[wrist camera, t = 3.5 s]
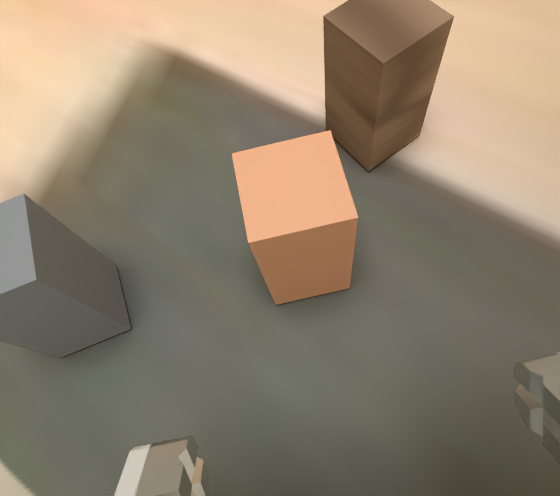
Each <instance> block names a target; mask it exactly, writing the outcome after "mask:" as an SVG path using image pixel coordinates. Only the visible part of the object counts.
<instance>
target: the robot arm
mask: <svg viewBox="0 0 560 496" xmlns="http://www.w3.org/2000/svg"><path fill="white" fill-rule="evenodd" d="M514 377H515V378H516V379H517V380H518V381H519V382H520V384H519V385H518V387H517V388H516V390H515V402H516V405H517V408H518V411H519V414H520V415H521V417H522V419H523V421H524V422H525V424H526V425H527V426H528V427H529V429H530V430H531V431H533V432H536V433H538V434H540V435H542V436H543V446H544V447H545V448H546V449H547V450H548V452H549V453H550V454H551V455H552V456H553V458H554V459H555V460H556V461H557V462H558V464H559V465H560V352H559V353H556V354H552V355H547V356H543V357H539V358H534V359H530V360H526V361H522V362H517V363H516V364H515V367H514ZM197 451H198V446H197V443H196V441H195V439H194V437H192V436H187V437H182V438H177V439H172V440H167V441H162V442H157V443H153V444H149V445H144V446H139V447H134V448H133V449H132V450H131V451H130V452H129V454H128V457H127V460H126V463H125V466H124V469H123V472H122V475H121V477H120V480H119V483H118V486H117V489H116V492H115V495H114V496H208V495H209V484H208V475H207V470H206V466H205V464H204V461H203V460H202V459H200V458H199V457H197Z"/></svg>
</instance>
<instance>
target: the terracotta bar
mask: <svg viewBox="0 0 560 496" xmlns="http://www.w3.org/2000/svg"><path fill="white" fill-rule="evenodd" d="M232 157H233V163H234V168H235V174H236V179H237V184H238V190H239V195H240V200H241V206H242V211H243V217H244V222H245V227H246V233H247V238H248V243H249V245H250V248H251V250H252V252H253V254H254V257H255V259H256V261H257V264H258V266H259V268H260V270H261V273H262V275H263V277H264V279H265V282H266V284H267V286H268V289H269V291H270V293H271V295H272V298H273V300H274V302H275V304H276V305H278V304H282V303H287V302H291V301H296V300H300V299H304V298H309V297H313V296H318V295H322V294H326V293H331V292H335V291H340V290H344V289H348V288H350V282H351V273H352V265H353V257H354V248H355V240H356V232H357V224H358V215H357V212H356V209H355V206H354V203H353V199H352V196H351V193H350V190H349V187H348V184H347V181H346V177H345V174H344V171H343V168H342V165H341V162H340V158H339V155H338V152H337V149H336V146H335V143H334V140H333V136H332V133H331V130H329V131H325V132H321V133H317V134H312V135H308V136H304V137H300V138H295V139H291V140H287V141H283V142H278V143H274V144H270V145H266V146H262V147H257V148H253V149H249V150H245V151H240V152H236V153H232Z"/></svg>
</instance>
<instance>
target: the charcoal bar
mask: <svg viewBox="0 0 560 496" xmlns="http://www.w3.org/2000/svg"><path fill="white" fill-rule="evenodd" d="M130 329H131V326H130V322H129V317H128V313H127V309H126V305H125V301H124V296H123V292H122V288H121V284H120V279H119V275H118V271H117V267H116V265H115V264H114V263H112V262H111V261H110V260H108V259H107V258H106V257H105V256H103V255H102V254H101V253H99V252H98V251H97V250H96V249H94V248H93V247H92V246H90V245H89V244H88V243H87V242H85V241H84V240H83V239H81V238H80V237H79V236H78V235H76V234H75V233H74V232H72V231H71V230H70V229H69V228H67V227H66V226H65V225H63V224H62V223H61V222H60V221H58V220H57V219H56V218H54V217H53V216H52V215H51V214H49V213H48V212H47V211H45V210H44V209H43V208H42V207H40V206H39V205H38V204H36V203H35V202H34V201H33V200H31V199H30V198H29V197H27V196H26V195H25V194H23V195H20V196H18V197H15V198H12V199H10V200H7V201H5V202H2V203H0V341H1V342H5V343H8V344H12V345H16V346H19V347H23V348H26V349H30V350H34V351H37V352H41V353H44V354H48V355H52V356H55V357H59V358H61V357H64V356H66V355H69V354H71V353H74V352H76V351H79V350H81V349H84V348H86V347H88V346H91V345H93V344H96V343H98V342H101V341H103V340H106V339H108V338H110V337H113V336H115V335H118V334H120V333H123V332H125V331H128V330H130Z"/></svg>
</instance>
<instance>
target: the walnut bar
mask: <svg viewBox="0 0 560 496" xmlns="http://www.w3.org/2000/svg"><path fill="white" fill-rule="evenodd" d="M323 18H324V63H325V108H326V131H329V130H331V133H332V136H333V138H334V139H335V140H336V141H337V142H338V143H339V144H340V145H341V146H342V147H343V148H344V149H345V150H346V151H348V152H349V153H350V154H351V155H352V156H353V157H354V158H355V159H356V160H357V161H358V162H359V163H360V164H361V165H362V166H363V167H364V168H365V169H366V170H367V171H370V170H372V169H373V168H375V167H376V166H377V165H379V164H380V163H382V162H383V161H384V160H386V159H387V158H389V157H390V156H391V155H393V154H394V153H395V152H397V151H398V150H400V149H401V148H402V147H404V146H405V145H407V144H408V143H409V142H411V141H412V140H414V139H415V138H416V137H418V136H419V135H420V132H421V128H422V125H423V121H424V118H425V114H426V111H427V107H428V104H429V101H430V97H431V94H432V90H433V87H434V83H435V80H436V76H437V73H438V70H439V66H440V63H441V59H442V56H443V52H444V49H445V45H446V42H447V38H448V35H449V32H450V28H451V25H452V21H453V18H454V16H452V15H451V14H449V13H448V12H446V11H445V10H443V9H442V8H440V7H439V6H437V5H436V4H434V3H433V2H431V1H430V0H348V1H347V2H345V3H344V4H342V5H340V6H339V7H337V8H336V9H334V10H332V11H331V12H329V13H328V14H326V15H324V16H323Z"/></svg>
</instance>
